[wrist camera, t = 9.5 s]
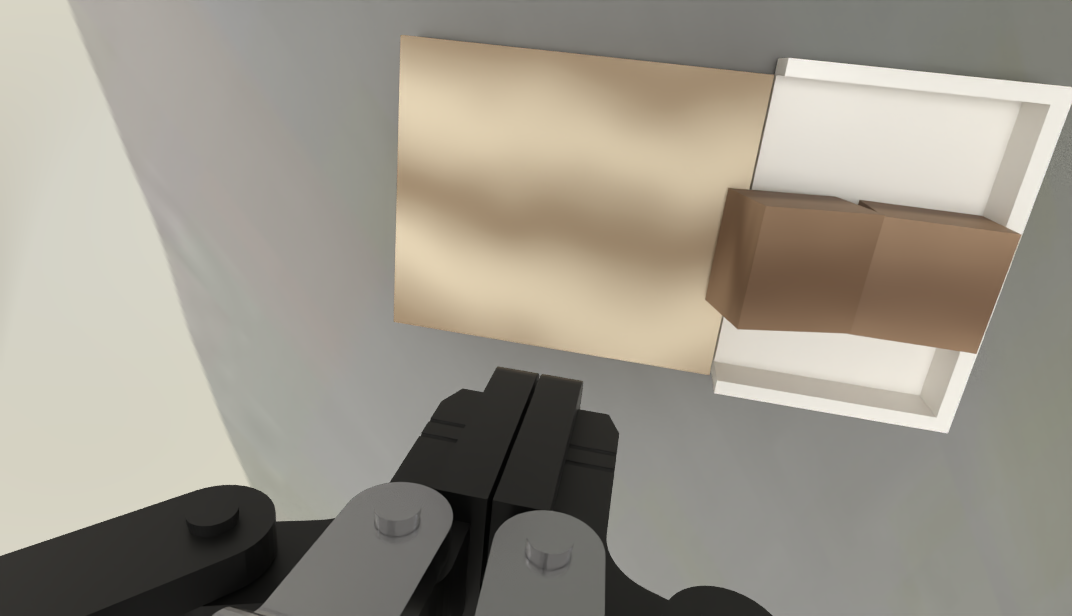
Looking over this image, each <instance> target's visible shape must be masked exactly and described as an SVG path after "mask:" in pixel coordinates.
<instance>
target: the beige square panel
mask: <svg viewBox="0 0 1072 616" xmlns="http://www.w3.org/2000/svg"><path fill="white" fill-rule="evenodd" d="M773 78H774V75H770V74H761V73H752V72H742V71H733V70H724V69H714V68H705V67H696V66H686V65H677V64H668V63H658V62H649V61H640V60H630V59H621V58H612V57H602V56H593V55H584V54H574V53H565V52H556V51H547V50H537V49H528V48H519V47H509V46H500V45H491V44H481V43H472V42H463V41H453V40H444V39H435V38H425V37H416V36H406V35H401V42H400V84H399V125H398V166H397V208H396V249H395V291H394V322H398V323H404V324H410V325H416V326H422V327H428V328H434V329H439V330H445V331H451V332H457V333H463V334H469V335H475V336H481V337H487V338H493V339H499V340H505V341H511V342H516V343H522V344H528V345H534V346H540V347H546V348H552V349H558V350H564V351H570V352H576V353H582V354H588V355H593V356H599V357H605V358H611V359H617V360H623V361H629V362H635V363H641V364H647V365H653V366H659V367H665V368H670V369H676V370H682V371H688V372H694V373H700V374H706V375H709V373H710V369H711V364H712V360H713V355H714V350H715V346H716V341H717V337H718V332H719V327H720V323H721V318H722V315H721V314H720V313H719V312H718V311H717V310H716V309H715V308H714V307H713V306H711V305H710V304H709V303H708V302H707V301H706V300H705V298H706V293H707V288H708V283H709V278H710V274H711V269H712V264H713V259H714V254H715V250H716V245H717V240H718V235H719V231H720V226H721V221H722V216H723V211H724V207H725V202H726V197H727V192H728V188H735V189H748V190H749V189H750V184H751V180H752V175H753V171H754V166H755V161H756V157H757V152H758V148H759V143H760V138H761V134H762V129H763V124H764V120H765V115H766V111H767V106H768V101H769V97H770V92H771V88H772V83H773Z"/></svg>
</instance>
